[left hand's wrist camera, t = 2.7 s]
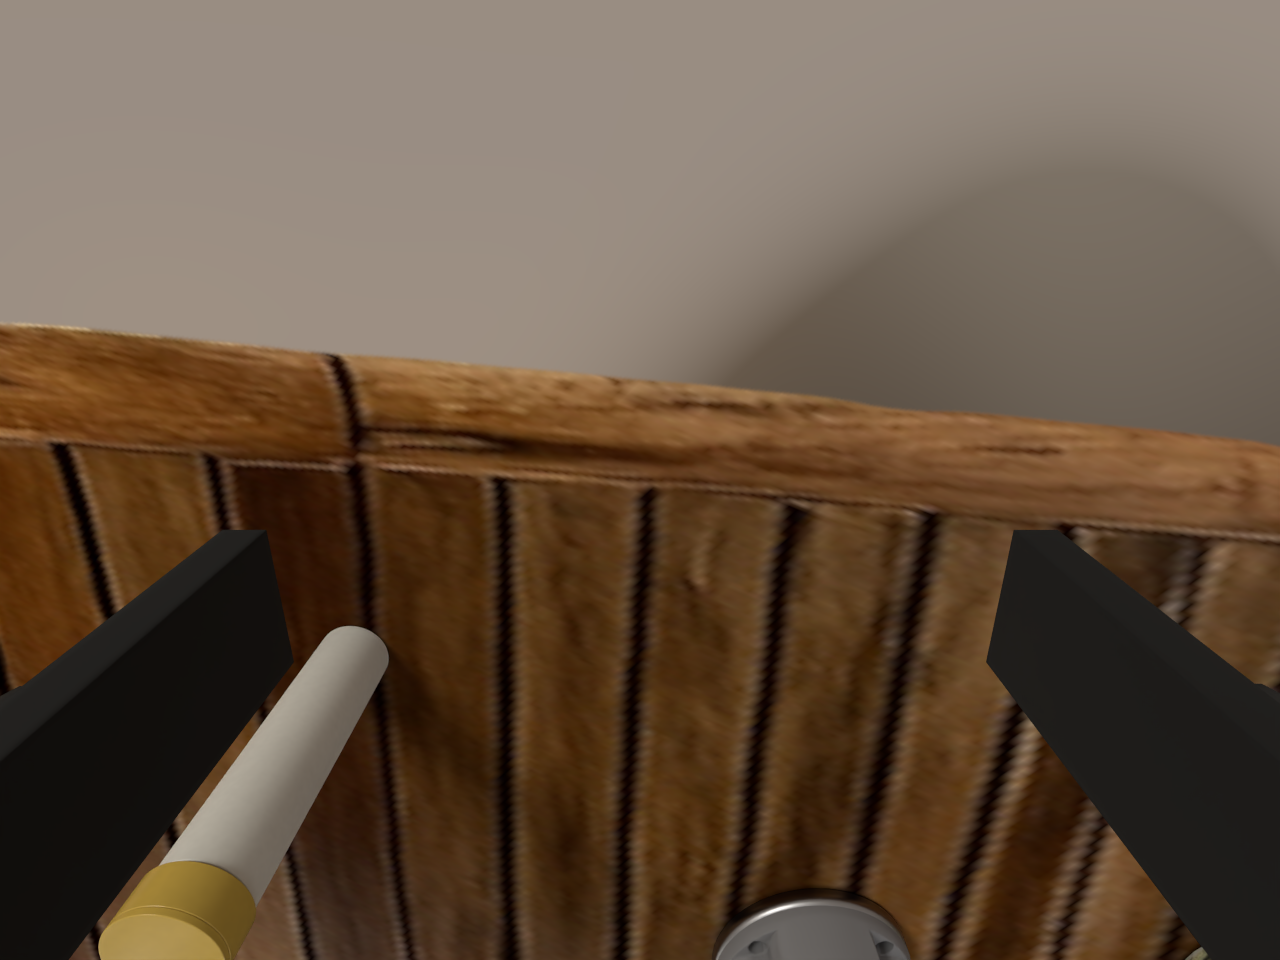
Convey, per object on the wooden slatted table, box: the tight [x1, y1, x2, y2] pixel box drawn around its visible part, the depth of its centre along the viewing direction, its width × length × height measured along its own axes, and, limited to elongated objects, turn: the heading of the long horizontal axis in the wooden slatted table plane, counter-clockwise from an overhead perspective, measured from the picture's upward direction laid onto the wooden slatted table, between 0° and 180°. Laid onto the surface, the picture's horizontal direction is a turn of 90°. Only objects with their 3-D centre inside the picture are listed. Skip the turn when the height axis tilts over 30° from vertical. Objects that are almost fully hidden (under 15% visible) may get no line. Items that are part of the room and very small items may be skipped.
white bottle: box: [159, 626, 389, 906], centre depth 37 cm, size 4×4×20 cm
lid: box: [99, 861, 256, 960], centre depth 29 cm, size 5×5×2 cm
